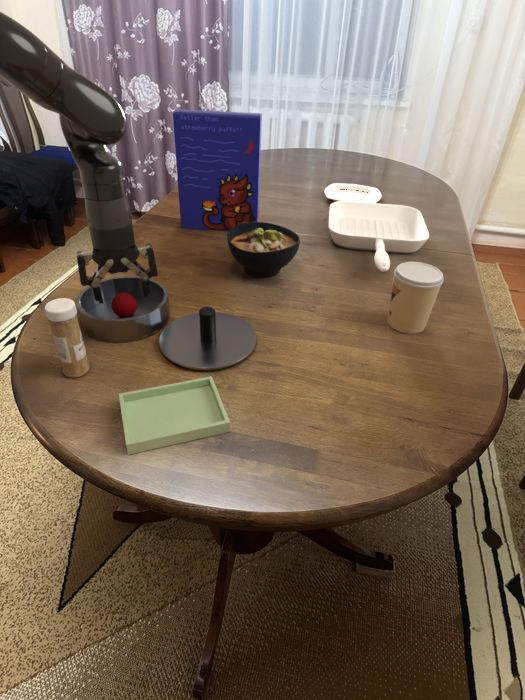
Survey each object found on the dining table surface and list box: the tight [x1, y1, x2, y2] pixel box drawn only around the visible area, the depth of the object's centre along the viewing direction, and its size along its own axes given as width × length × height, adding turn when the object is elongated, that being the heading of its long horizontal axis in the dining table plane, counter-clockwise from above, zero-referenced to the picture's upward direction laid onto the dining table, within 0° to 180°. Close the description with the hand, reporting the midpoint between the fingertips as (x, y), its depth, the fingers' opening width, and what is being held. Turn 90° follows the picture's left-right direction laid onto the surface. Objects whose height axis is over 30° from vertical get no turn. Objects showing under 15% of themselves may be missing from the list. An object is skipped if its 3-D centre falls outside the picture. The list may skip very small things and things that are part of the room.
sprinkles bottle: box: [44, 297, 91, 378], centre depth 77 cm, size 5×5×13 cm
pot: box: [75, 275, 171, 344], centre depth 94 cm, size 17×17×5 cm
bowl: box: [226, 221, 301, 278], centre depth 111 cm, size 17×17×10 cm
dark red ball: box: [111, 293, 137, 318], centre depth 93 cm, size 5×5×5 cm
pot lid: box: [158, 306, 257, 371], centre depth 87 cm, size 18×18×7 cm
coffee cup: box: [387, 261, 445, 335], centre depth 94 cm, size 9×9×12 cm
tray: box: [118, 375, 231, 456], centre depth 72 cm, size 15×11×2 cm
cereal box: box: [172, 108, 263, 232], centre depth 126 cm, size 22×6×30 cm, turn 87°
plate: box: [324, 182, 383, 203], centre depth 159 cm, size 19×19×2 cm
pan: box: [327, 201, 430, 273], centre depth 126 cm, size 27×44×5 cm, turn 172°
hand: (123, 298), depth 93 cm, fingers open, 8 cm apart
